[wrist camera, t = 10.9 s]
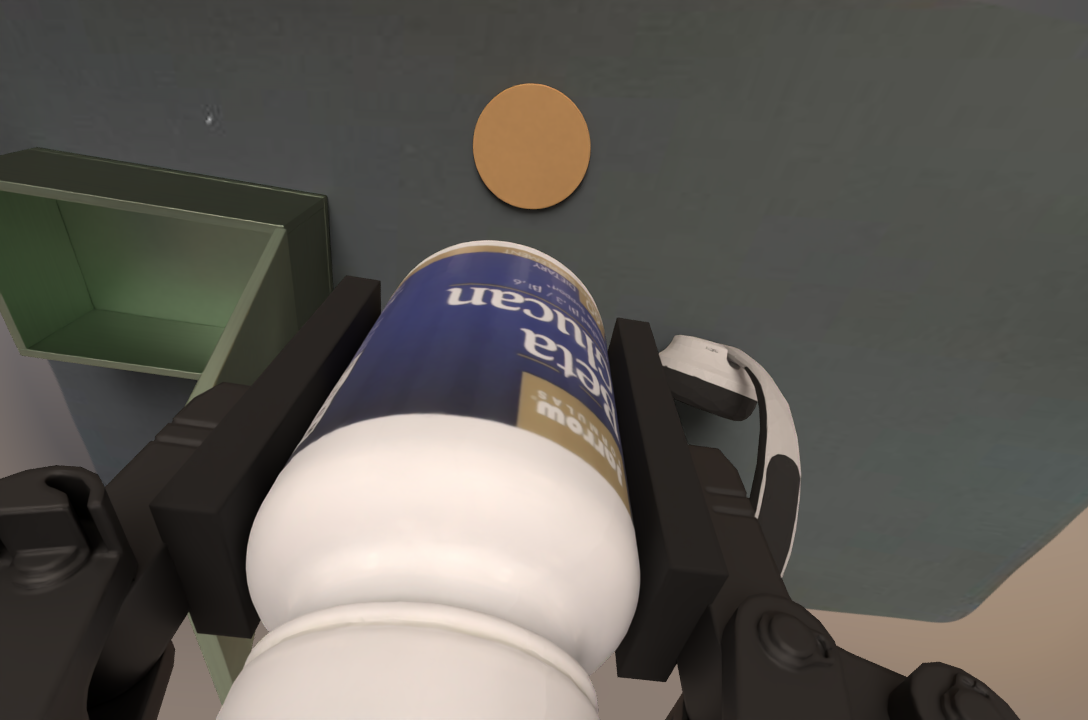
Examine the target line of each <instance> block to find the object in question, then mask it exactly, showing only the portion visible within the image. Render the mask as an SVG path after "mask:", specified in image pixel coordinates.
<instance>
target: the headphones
mask: <svg viewBox="0 0 1088 720" xmlns="http://www.w3.org/2000/svg"><path fill="white" fill-rule="evenodd" d="M659 356H660V359H661V362H662V366H663V369H664V372H665V375H666V378H667V381H668V384H669V387H670V391H671V394H672V397H673V398H674V399H677V400H679V401H681V402H683V403H686V404H688V405H690V406H693V407H696V408H698V409H701V410H704V411H707V412H709V413H712V414H715V415H718V416H720V417H723V418H727V419H730V420H734V421H743V420H745V419H747V418H748V417H749V416H750V415H751V414H752V412H753V410H754V409H755V407H756V404H757V402H758V405H759V413H760V435H759V446H758V456H757V465H756V470H755V475H754V480H753V484H752V489H751V494H750V499H749V500H750V502H751V505H752V507H753V510H754V512H755V513H754V517H756V518H757V519H758V522H759V524H760V527H761V529H762V531H763V534H764V536H765V539H766V541H767V544H768V546H769V548H770V551H771V553H772V556H773V558H774V560H775V563H776V565H777V568H778V570H779V573H780V575H781V577H783V574H784V571H785V568H786V566H787V563H788V560H789V558H790V554H791V550H792V545H793V541H794V536H795V532H796V526H797V517H798V508H799V499H800V485H801V468H800V458H799V448H798V438H797V434H796V430H795V427H794V423H793V419H792V415H791V411H790V408H789V404H788V403H787V401H786V400H785V398H784V397H783V395H782V393H781V392H780V390H779V389H778V387H777V386H776V384H775V382H774V381H773V379H772V378H771V376H770V375H769V374H768V373H767V372H766V371H765V369H764V368H763V367H762V366H761V365H760V364H758V363H757V362H756V361H755V360H753V359H752V358H751V357H750V356H748V355H747V354H745V353H744V352H743V351H741V350H739V349H737V348H735V347H731V346H727V345H724V344H717V343H714V342H711V341H707V340H704V339H700V338H696V337H691V336H683V335H676V336H675V337H674V338H673V340H672V342H671V343H670V344H669V346H668V347H667V348H666V349H665V350H663V351H662V352H660V353H659Z"/></svg>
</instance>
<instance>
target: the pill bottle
mask: <svg viewBox="0 0 1088 720" xmlns="http://www.w3.org/2000/svg"><path fill="white" fill-rule="evenodd" d="M246 575H247V584H248V588H249V593H250V596H251V599H252V602H253V604H254V607H255V609H256V611H257V613H258V615H259V617H260V619H261V621H262V623H263V625H264V626H265V628H266V629H267V630H268V632H269V633H268V634H267V635H266V636H264V637H263V638H262V639H261V640H260V641H259V642H258V643H257V644H256V646H255V647H254V648H253V649H252V651H251V652H250V654H249V656H248V658H247V660H246V663H245V665H244V667H243V670H242V671H241V672H240V674H239V675H238V677H237V678H236V680H235V681H234V683H233V684H232V686H231V689H230V691H229V693H228V695H227V697H226V699H225V701H224V703H223V706H222V708H221V710H220V712H219V713H218V715H217V717H216V719H215V720H600V719H599V716H598V702H597V695H596V691H595V689H594V686H593V684H592V682H591V681H590V678H589V676H590V675H591V674H593V673H594V672H595V671H596V670H597V669H598V668H599V667H601V666H602V665H603V664H604V663H605V662H606V661H607V660H608V659H609V658H610V657H611V655H612V654H613V653H614V652H615V650H616V649H617V648H618V646H619V645H620V643H621V642H622V640H623V638H624V637H625V635H626V634H627V631H628V629H629V626H630V624H631V622H632V619H633V616H634V614H635V611H636V608H637V603H638V598H639V591H640V565H639V557H638V549H637V543H636V536H635V528H634V522H633V516H632V510H631V503H630V497H629V490H628V484H627V477H626V471H625V464H624V457H623V451H622V445H621V438H620V432H619V425H618V418H617V412H616V405H615V398H614V391H613V385H612V379H611V372H610V365H609V358H608V352H607V343H606V338H605V333H604V328H603V324H602V320H601V317H600V314H599V311H598V309H597V306H596V304H595V302H594V300H593V298H592V296H591V295H590V293H589V291H588V290H587V289H586V287H585V286H584V285H583V283H582V282H581V281H580V280H579V279H578V278H577V277H576V276H575V275H574V274H573V273H572V272H571V271H570V270H569V269H568V268H566V267H565V266H564V265H562V264H561V263H560V262H558V261H557V260H555V259H553V258H552V257H550V256H548V255H546V254H544V253H542V252H540V251H538V250H536V249H533V248H530V247H527V246H524V245H520V244H515V243H511V242H503V241H491V240H484V241H472V242H467V243H461V244H458V245H455V246H451V247H448V248H446V249H444V250H441V251H439V252H437V253H435V254H433V255H432V256H430V257H428V258H427V259H425V260H424V261H423V262H421V263H420V264H419V265H417V266H416V267H415V268H414V269H413V270H412V271H411V272H410V273H409V274H408V275H407V276H406V277H405V279H404V280H403V281H402V283H401V284H400V285H399V287H398V288H397V290H396V291H395V292H394V294H393V295H392V297H391V298H390V300H389V302H388V303H387V305H386V307H385V308H384V310H383V311H382V313H381V315H380V316H379V318H378V320H377V321H376V323H375V324H374V326H373V327H372V329H371V330H370V332H369V334H368V335H367V337H366V338H365V340H364V342H363V343H362V345H361V347H360V348H359V350H358V351H357V353H356V355H355V356H354V358H353V359H352V361H351V363H350V364H349V366H348V367H347V369H346V370H345V372H344V373H343V375H342V376H341V378H340V380H339V381H338V383H337V384H336V386H335V387H334V388H333V390H332V392H331V393H330V395H329V396H328V398H327V400H326V401H325V403H324V404H323V406H322V407H321V409H320V410H319V412H318V414H317V415H316V417H315V418H314V420H313V422H312V423H311V425H310V427H309V428H308V430H307V432H306V433H305V435H304V437H303V438H302V440H301V441H300V443H299V444H298V445H297V447H296V449H295V450H294V452H293V454H292V455H291V457H290V458H289V460H288V461H287V463H286V465H285V466H284V468H283V470H282V471H281V472H280V473H279V475H278V477H277V479H276V481H275V482H274V484H273V486H272V488H271V489H270V491H269V493H268V494H267V496H266V498H265V499H264V501H263V503H262V504H261V507H260V509H259V511H258V513H257V515H256V517H255V520H254V522H253V525H252V528H251V531H250V536H249V540H248V545H247V554H246Z"/></svg>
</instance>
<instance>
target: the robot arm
mask: <svg viewBox="0 0 1088 720" xmlns="http://www.w3.org/2000/svg"><path fill="white" fill-rule="evenodd" d="M380 315H381V284H380V281H378V280H372V279H366V278H359V277H353V276H345V277H344V279H343V280H342V281H341V282H340V283H339V284H338V286H337V287H336V288H335V289H334V290H333V291H332V293H331V294H330V295H329V296H328V297H327V298H326V300H325V301H324V302H323V303H322V304H321V305H320V306H319V308H318V309H317V310H316V311H315V312H314V313H313V315H312V316H311V317H310V318H309V319H308V320H307V322H306V323H305V324H304V325H303V326H302V327H301V329H300V330H299V331H298V332H297V333H296V334H295V336H294V337H293V338H292V339H291V340H290V341H289V342H288V344H287V345H286V346H285V347H284V348H283V349H282V351H281V352H280V353H279V354H278V355H277V356H276V358H275V359H274V360H273V361H272V362H271V363H270V365H269V366H268V367H267V368H266V369H265V370H264V372H263V373H262V374H261V375H260V376H259V377H258V378H257V380H256V381H255V382H254V383H253V384H252V385H251V386H250V385H243V384H235V383H228V382H222V383H220V384H218V385H216V386H214V387H213V388H211V389H209V390H207V391H205V392H203V393H201V394H200V395H198V396H196V397H194V398H193V399H192V400H191V401H190V402H189V403H188V404H187V405H186V406H185V407H184V408H183V409H182V410H181V411H180V412H179V413H178V414H177V415H176V416H175V417H174V418H173V421H172V423H168V424H167V425H166V426H165V427H164V428H163V429H162V430H161V431H160V432H159V433H158V434H157V435H156V436H155V440H154V441H150V442H149V443H148V444H147V445H146V446H145V447H144V448H143V449H142V450H141V451H140V452H139V453H138V454H137V455H136V456H135V457H134V458H133V459H132V460H131V461H130V462H129V463H128V464H127V465H126V466H125V467H124V468H123V469H122V470H121V471H120V472H119V473H118V474H117V475H116V476H115V478H114V479H113V480H112V481H111V482H110V483H109V484H108V485H107V486H106V487H104V485H103V483H102V481H101V479H100V477H99V476H98V474H95V473H93V472H91V471H89V470H87V469H84V468H82V467H74V466H58V465H55V466H49V467H43V468H36V469H30V470H25V471H22V472H19V473H16V474H13V475H10V476H8V477H5V478H2V479H0V720H157V717H158V714H159V710H160V707H161V704H162V701H163V697H164V695H165V691H166V688H167V685H168V682H169V679H170V675H171V672H172V669H173V666H174V665H173V664H174V655H175V648H174V645H173V643H172V641H171V639H172V637H173V636H174V634H175V633H176V631H177V630H178V628H179V626H180V625H181V623H182V622H183V620H184V619H185V617H186V615H187V614H188V612H189V613H190V616H191V619H192V621H193V624H194V627H195V629H196V632H197V633H199V634H208V635H218V636H228V637H237V638H247V639H251V638H252V636H253V634H254V632H255V630H256V628H257V626H258V624H259V622H260V620H261V619H260V617H259V615H258V613H257V611H256V609H255V607H254V604H253V602H252V599H251V596H250V593H249V588H248V584H247V575H246V554H247V545H248V540H249V536H250V531H251V528H252V525H253V522H254V520H255V517H256V515H257V513H258V511H259V509H260V507H261V504H262V503H263V501H264V499H265V498H266V496H267V494H268V493H269V491H270V489H271V488H272V486H273V484H274V482H275V481H276V479H277V477H278V475H279V473H280V472H281V471H282V470H283V468H284V466H285V465H286V463H287V461H288V460H289V458H290V457H291V455H292V454H293V452H294V450H295V449H296V447H297V445H298V444H299V443H300V441H301V440H302V438H303V437H304V435H305V433H306V432H307V430H308V428H309V427H310V425H311V423H312V422H313V420H314V418H315V417H316V415H317V414H318V412H319V410H320V409H321V407H322V406H323V404H324V403H325V401H326V400H327V398H328V396H329V395H330V393H331V392H332V390H333V388H334V387H335V386H336V384H337V383H338V381H339V380H340V378H341V376H342V375H343V373H344V372H345V370H346V369H347V367H348V366H349V364H350V363H351V361H352V359H353V358H354V356H355V355H356V353H357V351H358V350H359V348H360V347H361V345H362V343H363V342H364V340H365V338H366V337H367V335H368V334H369V332H370V330H371V329H372V327H373V326H374V324H375V323H376V321H377V320H378V318H379V316H380ZM608 358H609V365H610V372H611V379H612V385H613V391H614V398H615V405H616V412H617V418H618V425H619V432H620V438H621V445H622V451H623V457H624V464H625V471H626V477H627V484H628V490H629V497H630V503H631V510H632V516H633V522H634V528H635V536H636V543H637V549H638V557H639V565H640V591H639V598H638V603H637V608H636V611H635V614H634V616H633V619H632V622H631V624H630V626H629V629H628V631H627V634H626V635H625V637H624V638H623V640H622V642H621V643H620V645H619V646H618V648H617V649H616V650H615V655H616V664H617V665H616V666H617V676H618V677H622V678H632V679H642V680H650V681H660V682H666V681H667V679H668V677H669V676H670V674H671V673H672V671H673V669H674V667H675V666H676V664H677V665H678V670H679V675H680V681H681V686H682V691H683V693H682V694H681V696H680V698H679V699H678V701H677V702H676V704H675V705H674V707H673V708H672V710H671V711H670V713H669V715H668V716H667V718H666V719H665V720H1020V719H1019V718H1018V717H1017V715H1016V714H1015V713H1014V711H1013V710H1012V709H1011V708H1010V706H1009V705H1008V704H1007V703H1006V702H1005V701H1004V700H1003V699H1002V698H1000V697H999V696H998V695H997V694H996V693H995V692H994V691H992V690H991V689H990V688H989V687H988V686H987V685H986V684H985V683H983V682H982V681H980V680H978V679H977V678H975V677H973V676H972V675H970V674H968V673H967V672H965V671H964V670H962V669H960V668H957V667H954V666H951V665H947V664H944V663H941V662H931V663H922V664H921V665H920V666H919V667H918V668H917V669H916V670H915V671H913V672H912V673H911V674H910V675H909V676H908V677H906V676H903V675H901V674H898V673H896V672H894V671H891V670H889V669H887V668H884V667H882V666H880V665H877V664H875V663H873V662H870V661H868V660H866V659H863V658H861V657H859V656H856V655H854V654H852V653H850V652H848V651H846V650H844V649H842V648H840V647H838V646H836V644H835V641H834V640H833V638H832V637H831V636H830V634H829V633H828V631H827V630H826V629H825V627H824V626H823V625H822V624H821V622H820V621H819V620H818V619H817V618H816V617H814V616H813V615H812V614H811V613H810V612H809V611H807V610H806V609H805V608H804V607H803V606H801V605H799V604H797V603H795V602H794V601H792V600H791V598H790V596H789V594H788V592H787V590H786V587H785V585H784V582H783V580H782V577H781V575H780V573H779V570H778V568H777V565H776V563H775V560H774V558H773V556H772V553H771V551H770V548H769V546H768V544H767V541H766V539H765V536H764V534H763V531H762V529H761V527H760V524H759V522H758V519H757V518H756V517H754V513H755V512H754V510H753V507H752V505H751V502H750V500H749V498H747V497H746V494H747V493H746V490H745V488H744V485H743V483H742V481H741V478H740V476H739V473H738V471H737V469H736V468H735V467H734V466H733V465H732V464H731V462H730V461H729V460H728V459H727V458H726V457H725V456H724V455H723V453H722V452H721V451H720V450H719V449H716V448H709V447H702V446H695V445H688V444H687V441H686V438H685V435H684V431H683V428H682V425H681V422H680V419H679V416H678V413H677V409H676V406H675V403H674V400H673V397H672V394H671V391H670V387H669V384H668V381H667V378H666V375H665V372H664V369H663V366H662V362H661V359H660V356H659V353H658V350H657V347H656V344H655V340H654V337H653V334H652V331H651V328H650V325H649V323H648V322H642V321H635V320H629V319H623V318H617V320H616V323H615V327H614V331H613V334H612V338H611V342H610V345H609V349H608Z"/></svg>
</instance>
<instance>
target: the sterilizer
mask: <svg viewBox="0 0 1088 720" xmlns="http://www.w3.org/2000/svg"><path fill="white" fill-rule="evenodd" d="M276 228H278V229H286V230H287V237H288V246H289V255H290V263H291V272H292V281H293V290H294V299H295V307H296V316H297V325H298V331H299V330H300V329H301V327H302V326H303V325H304V324H305V323H306V322H307V320H308V319H309V318H310V317H311V316H312V315H313V313H314V312H315V311H316V310H317V309H318V308H319V306H320V305H321V304H322V303H323V302H324V301H325V300H326V298H327V297H328V296H329V295H330V294H331V293H332V291H333V279H332V264H331V249H330V234H329V220H328V205H327V196H326V195H321V194H315V193H309V192H303V191H297V190H291V189H285V188H279V187H273V186H267V185H261V184H255V183H249V182H243V181H237V180H231V179H225V178H219V177H213V176H207V175H201V174H195V173H189V172H183V171H177V170H171V169H165V168H159V167H153V166H147V165H141V164H135V163H129V162H123V161H117V160H111V159H105V158H99V157H93V156H86V155H80V154H74V153H68V152H62V151H56V150H50V149H44V148H38V147H36V148H31V149H26V150H22V151H17V152H13V153H8V154H4V155H0V312H1V314H2V317H3V319H4V321H5V323H6V325H7V327H8V329H9V332H10V334H11V336H12V338H13V340H14V342H15V344H16V346H17V348H18V350H19V352H20V354H21V355H22V356H28V357H35V358H43V359H50V360H57V361H64V362H72V363H79V364H86V365H93V366H100V367H108V368H115V369H122V370H129V371H137V372H144V373H151V374H158V375H165V376H173V377H180V378H187V379H194V380H199V378H200V376H201V374H202V372H203V370H204V368H205V366H206V364H207V362H208V360H209V358H210V356H211V354H212V352H213V350H214V348H215V346H216V344H217V342H218V340H219V338H220V336H221V334H222V332H223V330H224V329H225V327H226V325H227V323H228V321H229V319H230V317H231V315H232V313H233V311H234V309H235V307H236V305H237V303H238V301H239V299H240V297H241V295H242V293H243V291H244V289H245V287H246V285H247V283H248V281H249V279H250V277H251V276H252V274H253V272H254V270H255V268H256V266H257V264H258V262H259V260H260V258H261V256H262V254H263V252H264V250H265V248H266V246H267V244H268V242H269V240H270V238H271V236H272V234H273V232H274V230H275V229H276Z"/></svg>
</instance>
